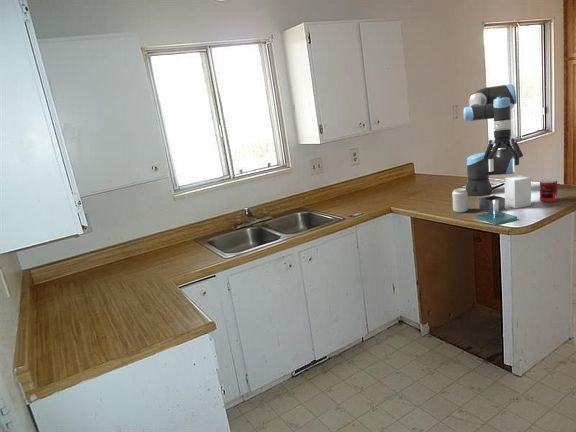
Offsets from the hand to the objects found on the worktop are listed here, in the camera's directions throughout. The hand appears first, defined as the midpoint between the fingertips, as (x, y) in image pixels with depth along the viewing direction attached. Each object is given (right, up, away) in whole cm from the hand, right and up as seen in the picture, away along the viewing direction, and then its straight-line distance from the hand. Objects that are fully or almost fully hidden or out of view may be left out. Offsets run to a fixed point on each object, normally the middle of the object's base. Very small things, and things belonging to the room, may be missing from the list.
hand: (502, 171), depth 217 cm
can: (-18, -20, +10) cm, 29 cm away
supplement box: (+10, -17, +5) cm, 21 cm away
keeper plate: (-9, -24, -10) cm, 27 cm away
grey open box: (-3, -19, +5) cm, 20 cm away
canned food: (+26, -15, +5) cm, 30 cm away
